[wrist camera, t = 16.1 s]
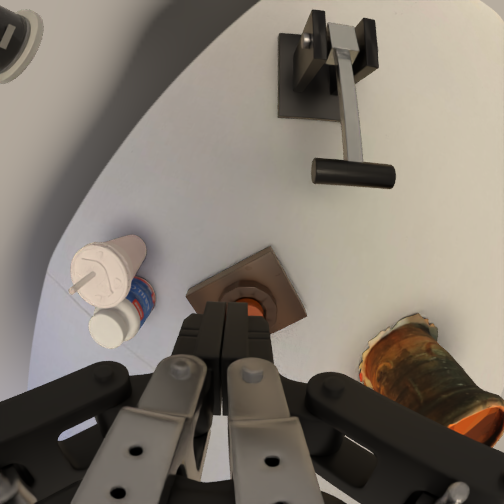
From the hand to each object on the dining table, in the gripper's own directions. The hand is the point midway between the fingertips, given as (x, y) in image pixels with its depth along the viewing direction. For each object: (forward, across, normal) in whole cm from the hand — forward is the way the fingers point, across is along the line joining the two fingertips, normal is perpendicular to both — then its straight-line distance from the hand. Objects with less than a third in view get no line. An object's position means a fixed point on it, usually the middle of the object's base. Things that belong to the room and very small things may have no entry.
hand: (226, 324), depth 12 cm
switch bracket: (+24, -8, -16) cm, 30 cm away
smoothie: (+24, +13, +5) cm, 28 cm away
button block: (+24, -1, +10) cm, 26 cm away
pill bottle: (+24, +13, +10) cm, 30 cm away
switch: (+13, -7, -11) cm, 18 cm away
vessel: (+24, -23, +19) cm, 38 cm away
